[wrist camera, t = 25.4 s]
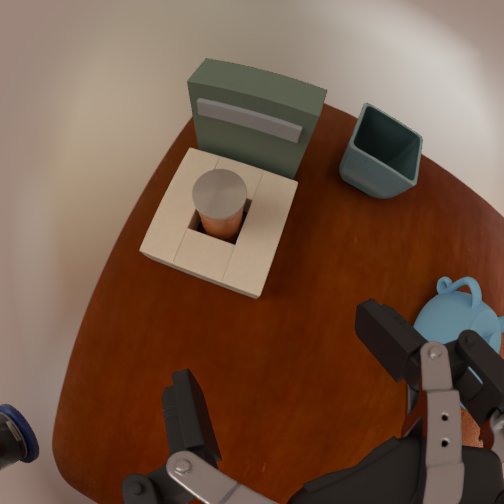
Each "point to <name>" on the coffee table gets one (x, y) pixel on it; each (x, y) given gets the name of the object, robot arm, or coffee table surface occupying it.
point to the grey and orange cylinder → (220, 203)
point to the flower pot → (381, 155)
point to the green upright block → (254, 115)
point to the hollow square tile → (212, 249)
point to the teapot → (459, 315)
